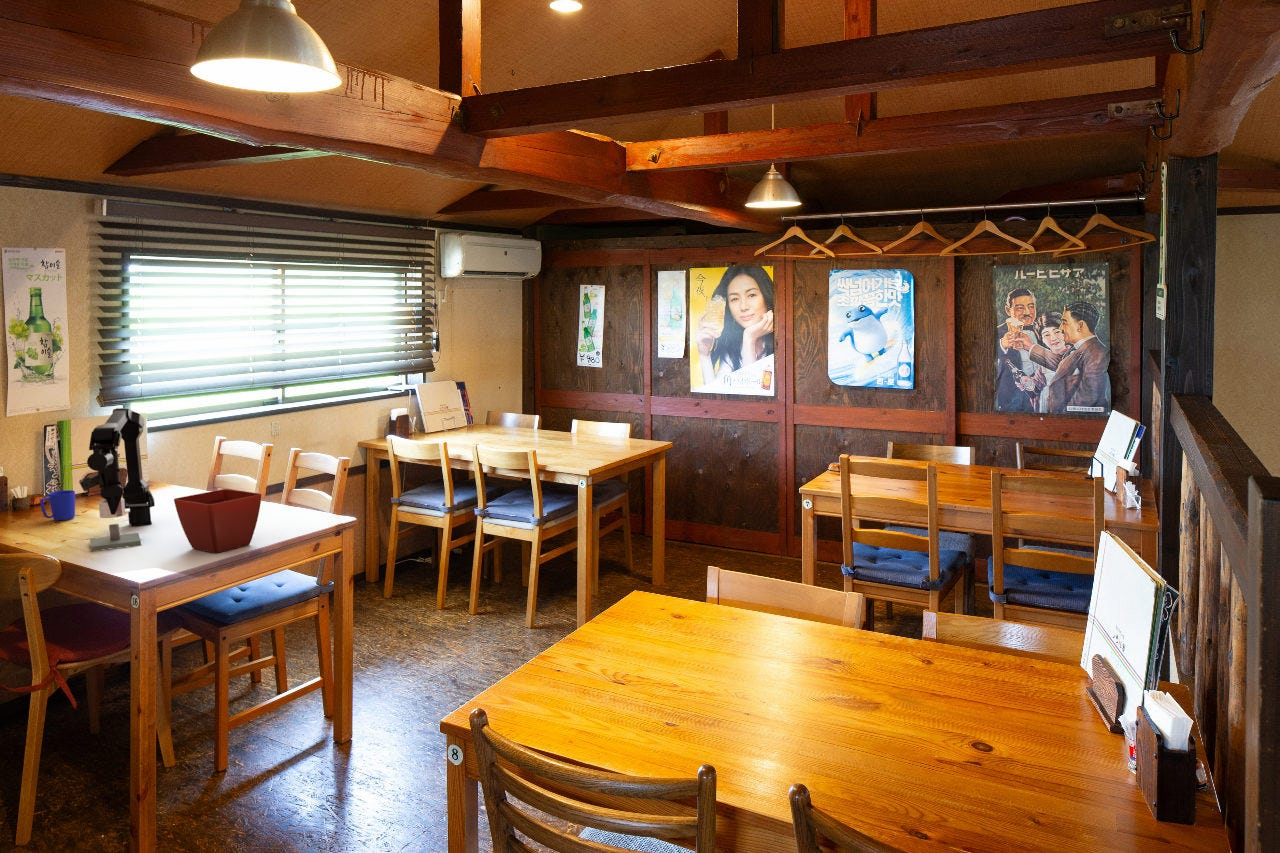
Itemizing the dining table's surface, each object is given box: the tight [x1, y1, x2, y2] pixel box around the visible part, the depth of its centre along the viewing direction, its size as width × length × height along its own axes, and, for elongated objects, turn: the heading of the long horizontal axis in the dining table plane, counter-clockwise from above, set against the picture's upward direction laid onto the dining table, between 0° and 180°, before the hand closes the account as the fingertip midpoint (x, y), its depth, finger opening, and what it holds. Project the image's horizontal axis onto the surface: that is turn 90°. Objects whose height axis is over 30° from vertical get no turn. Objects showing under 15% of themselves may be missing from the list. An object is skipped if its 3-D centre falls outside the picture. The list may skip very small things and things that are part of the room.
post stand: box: [89, 523, 142, 552], centre depth 298 cm, size 14×12×6 cm
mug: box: [39, 489, 76, 521], centre depth 331 cm, size 8×12×10 cm
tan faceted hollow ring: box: [98, 497, 126, 519], centre depth 297 cm, size 7×7×5 cm
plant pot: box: [173, 488, 262, 554], centre depth 293 cm, size 19×19×17 cm
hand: (112, 512), depth 297 cm, fingers closed on tan faceted hollow ring, 7 cm apart
